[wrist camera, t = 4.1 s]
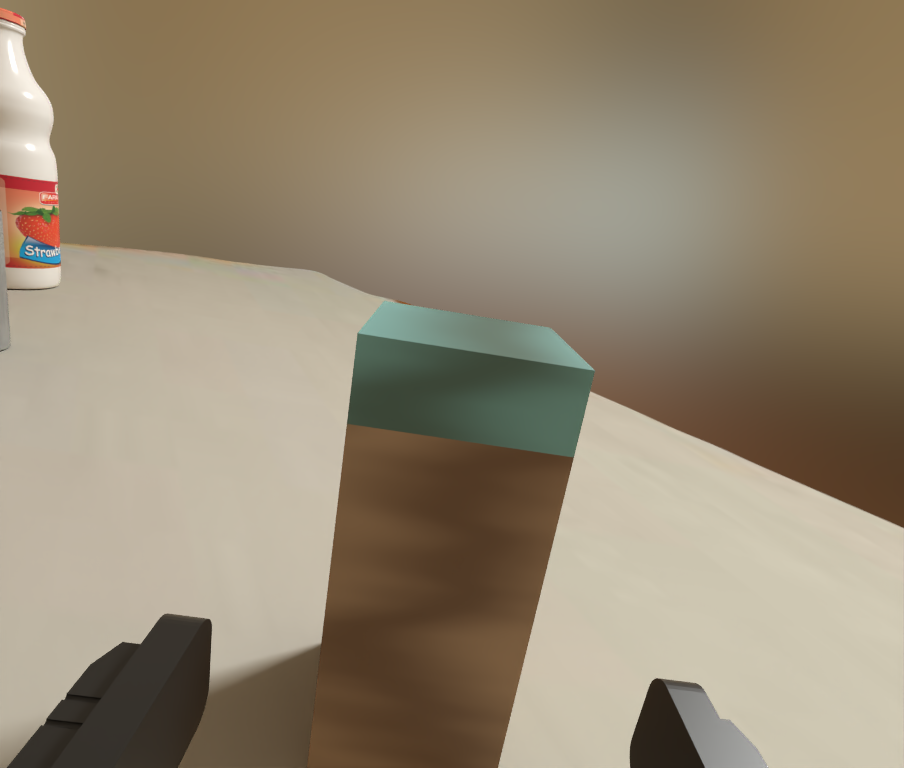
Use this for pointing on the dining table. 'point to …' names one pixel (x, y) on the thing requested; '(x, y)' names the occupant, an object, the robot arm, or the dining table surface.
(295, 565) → the dining table surface
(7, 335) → the planter
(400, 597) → the brown tall block
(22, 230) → the white strawberry milk bottle
